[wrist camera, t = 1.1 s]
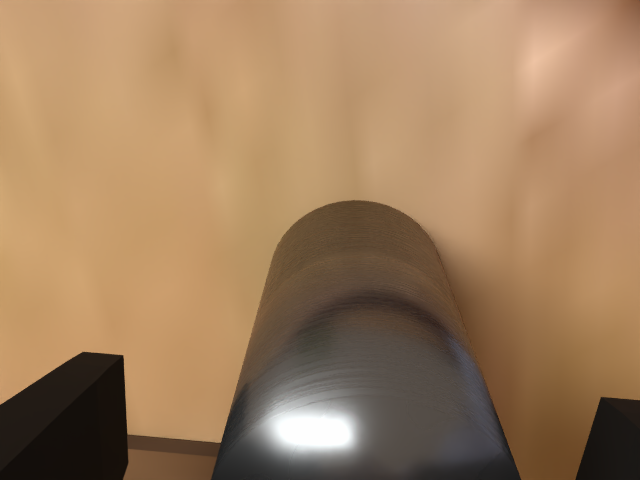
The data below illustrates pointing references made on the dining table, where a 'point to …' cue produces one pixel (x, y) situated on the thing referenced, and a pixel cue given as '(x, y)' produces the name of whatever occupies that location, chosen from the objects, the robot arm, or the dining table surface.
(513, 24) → the dining table surface
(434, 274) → the pin
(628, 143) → the dining table surface
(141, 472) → the socket block
